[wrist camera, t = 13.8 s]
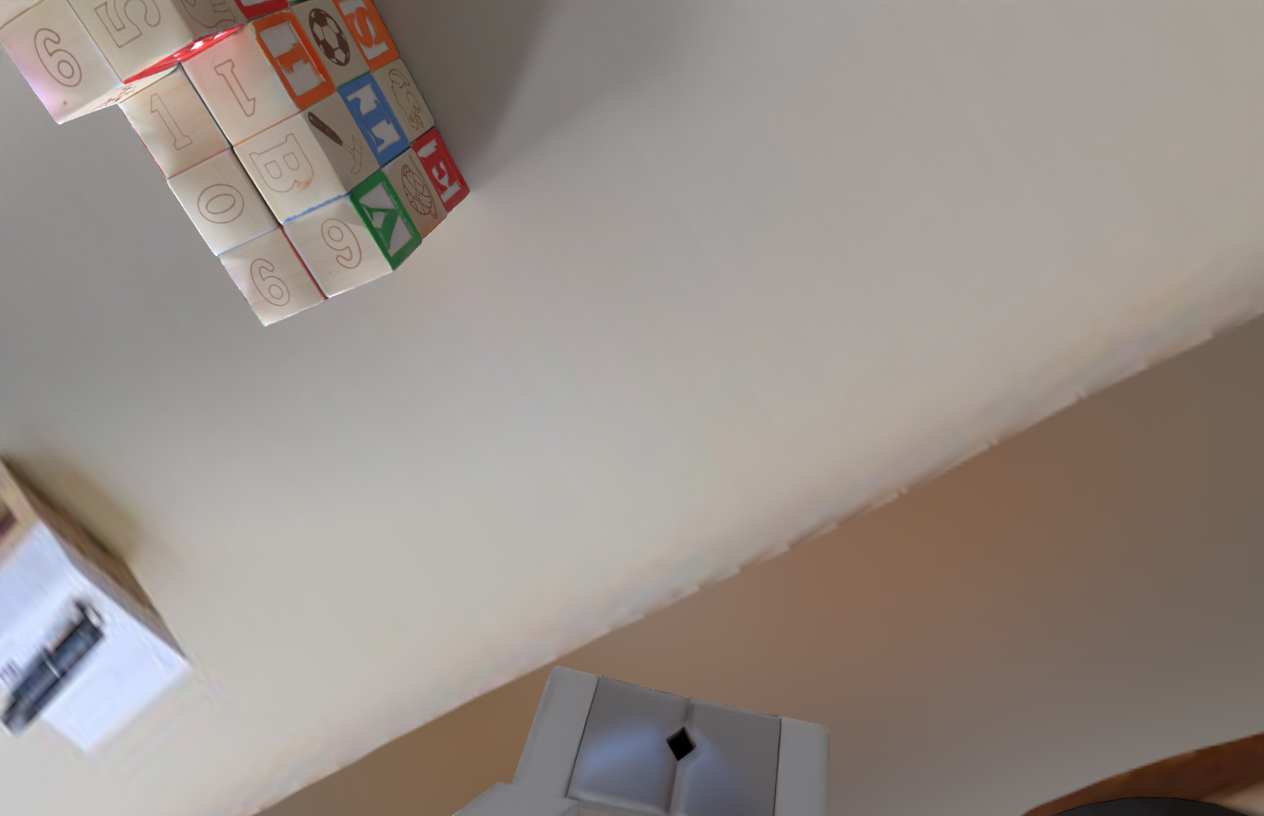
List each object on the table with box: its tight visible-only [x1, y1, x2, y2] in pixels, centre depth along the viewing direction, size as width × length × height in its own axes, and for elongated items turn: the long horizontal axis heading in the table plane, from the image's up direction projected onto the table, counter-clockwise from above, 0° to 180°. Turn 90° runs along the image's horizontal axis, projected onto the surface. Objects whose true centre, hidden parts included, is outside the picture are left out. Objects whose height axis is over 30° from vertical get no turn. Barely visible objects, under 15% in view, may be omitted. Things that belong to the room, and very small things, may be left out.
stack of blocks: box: [0, 0, 470, 326], centre depth 36 cm, size 21×6×12 cm, turn 26°
